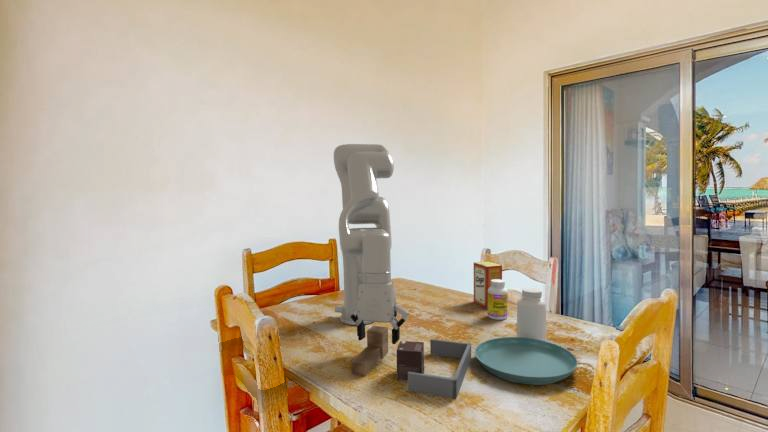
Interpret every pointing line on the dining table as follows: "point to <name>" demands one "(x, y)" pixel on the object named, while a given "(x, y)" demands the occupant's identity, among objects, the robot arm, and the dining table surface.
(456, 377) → the open-sided frame
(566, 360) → the teal plate
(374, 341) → the brown l-shaped block
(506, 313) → the supplement bottle
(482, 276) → the baking soda box
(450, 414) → the dining table surface
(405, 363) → the box
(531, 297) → the pill bottle
